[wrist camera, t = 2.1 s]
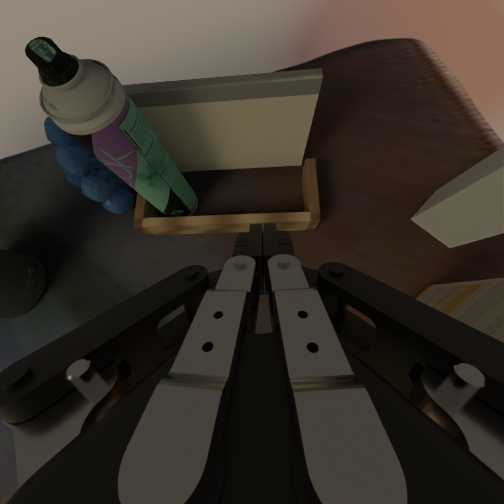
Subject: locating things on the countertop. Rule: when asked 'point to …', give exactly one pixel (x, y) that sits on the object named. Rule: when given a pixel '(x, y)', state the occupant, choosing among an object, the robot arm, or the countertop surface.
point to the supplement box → (470, 303)
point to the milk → (467, 205)
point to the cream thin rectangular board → (231, 118)
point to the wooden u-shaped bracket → (306, 220)
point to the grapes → (89, 172)
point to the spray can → (109, 126)
